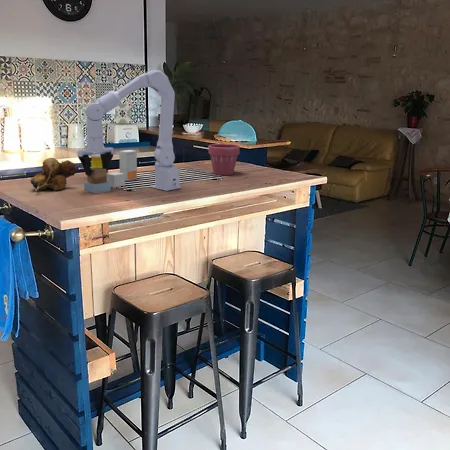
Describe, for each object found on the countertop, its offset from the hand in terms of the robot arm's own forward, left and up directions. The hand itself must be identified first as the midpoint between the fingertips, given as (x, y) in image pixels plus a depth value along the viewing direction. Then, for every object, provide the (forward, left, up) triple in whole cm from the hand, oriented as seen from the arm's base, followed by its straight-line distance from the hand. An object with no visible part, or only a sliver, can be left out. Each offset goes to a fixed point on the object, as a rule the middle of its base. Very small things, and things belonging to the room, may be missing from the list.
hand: (96, 174), depth 186 cm
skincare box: (+9, -22, -6) cm, 25 cm away
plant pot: (-8, -63, -6) cm, 64 cm away
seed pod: (+14, +11, -6) cm, 19 cm away
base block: (0, 0, -7) cm, 7 cm away
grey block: (+2, -10, -6) cm, 12 cm away
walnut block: (0, 0, -3) cm, 3 cm away
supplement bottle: (+22, -17, -6) cm, 29 cm away
